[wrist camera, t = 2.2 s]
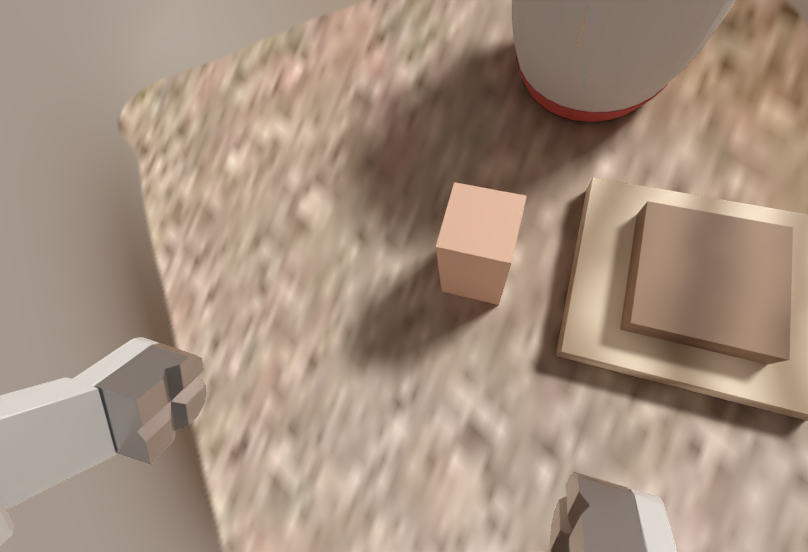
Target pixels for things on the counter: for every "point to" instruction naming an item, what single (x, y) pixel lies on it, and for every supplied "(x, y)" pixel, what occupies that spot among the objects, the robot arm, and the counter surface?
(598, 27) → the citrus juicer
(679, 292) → the stepped pedestal
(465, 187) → the pillar block
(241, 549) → the counter surface
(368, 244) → the counter surface
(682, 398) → the counter surface
